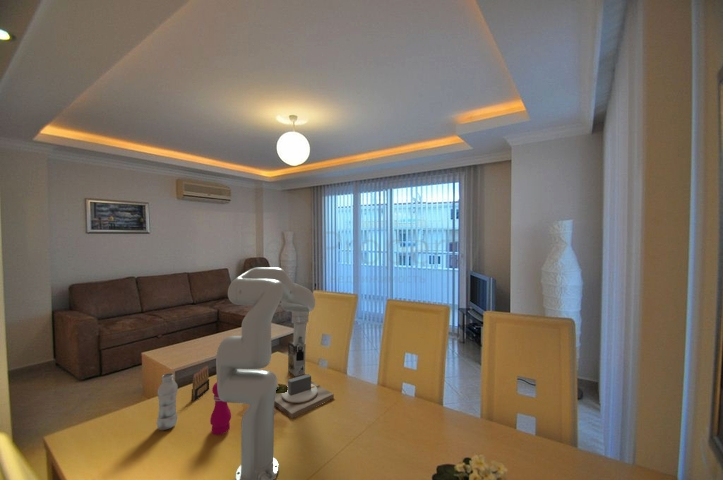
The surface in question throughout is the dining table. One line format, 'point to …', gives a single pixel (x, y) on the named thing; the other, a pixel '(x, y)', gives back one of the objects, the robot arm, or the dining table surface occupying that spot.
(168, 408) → the plastic bottle
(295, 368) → the coffee box
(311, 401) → the dial board
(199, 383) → the ammunition clip
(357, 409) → the dining table surface
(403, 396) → the dining table surface
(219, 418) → the pepper mill
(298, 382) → the dial
